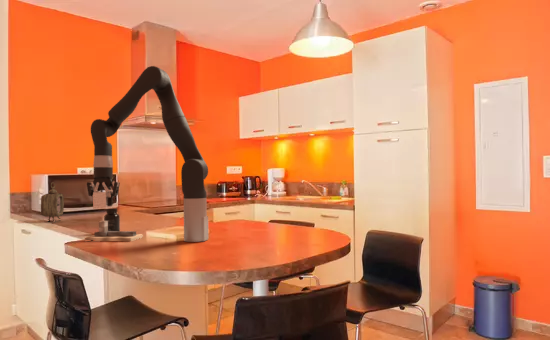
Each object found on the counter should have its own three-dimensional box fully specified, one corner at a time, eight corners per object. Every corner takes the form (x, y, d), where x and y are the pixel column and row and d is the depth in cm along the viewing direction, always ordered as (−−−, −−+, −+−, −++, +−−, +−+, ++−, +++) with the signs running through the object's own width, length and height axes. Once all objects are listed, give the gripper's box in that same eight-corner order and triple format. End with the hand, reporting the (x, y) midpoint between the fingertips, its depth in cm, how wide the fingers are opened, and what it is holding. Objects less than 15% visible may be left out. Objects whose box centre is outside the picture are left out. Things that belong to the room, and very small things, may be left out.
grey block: (112, 207, 170) (112, 192, 170) (105, 208, 165) (105, 192, 165) (100, 207, 171) (100, 192, 171) (93, 208, 165) (93, 192, 165)
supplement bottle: (122, 232, 188) (122, 207, 189) (113, 234, 182) (113, 208, 182) (110, 232, 190) (110, 207, 191) (100, 234, 184) (100, 208, 184)
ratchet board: (142, 237, 171) (142, 219, 171) (130, 241, 160) (130, 222, 161) (99, 237, 173) (99, 219, 174) (84, 241, 163) (84, 222, 163)
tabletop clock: (56, 222, 242) (56, 182, 243) (40, 223, 240) (40, 182, 241) (63, 220, 256) (63, 182, 257) (48, 220, 254) (48, 182, 255)
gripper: (123, 166, 171) (123, 205, 171) (92, 167, 173) (92, 205, 172) (114, 166, 164) (114, 206, 163) (82, 166, 165) (82, 206, 165)
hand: (103, 206), depth 168 cm, fingers closed on grey block, 5 cm apart
